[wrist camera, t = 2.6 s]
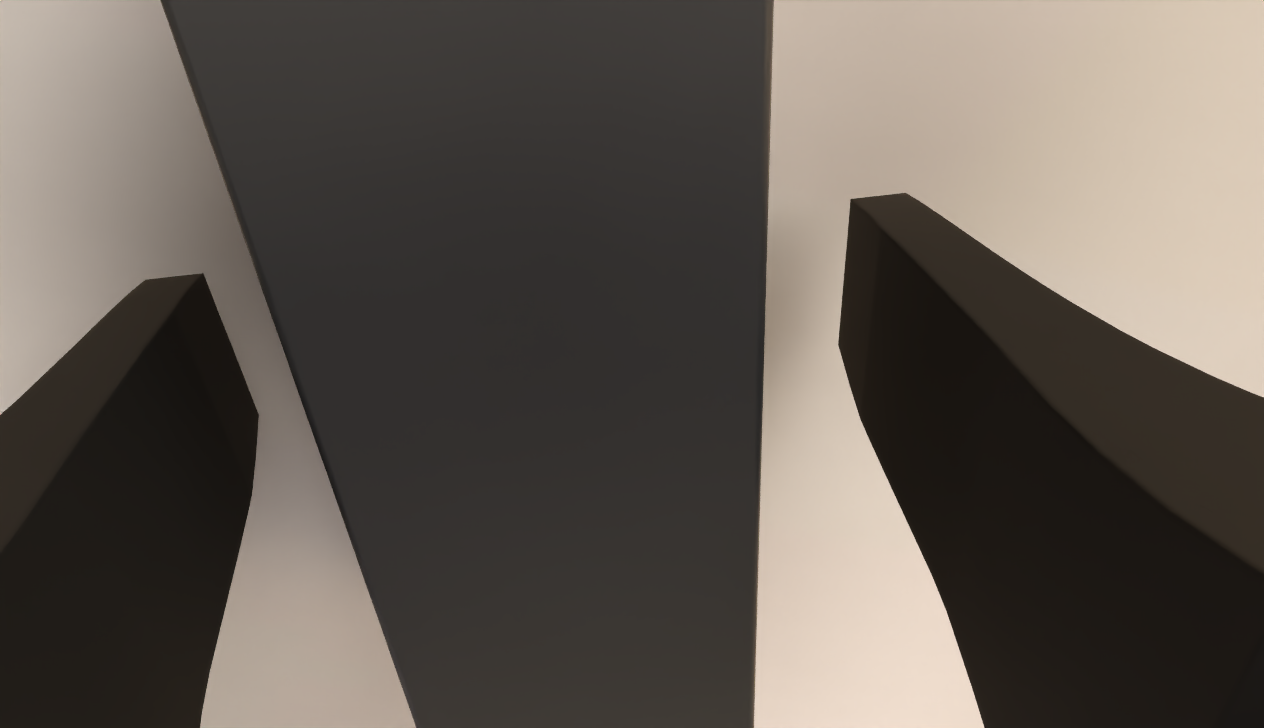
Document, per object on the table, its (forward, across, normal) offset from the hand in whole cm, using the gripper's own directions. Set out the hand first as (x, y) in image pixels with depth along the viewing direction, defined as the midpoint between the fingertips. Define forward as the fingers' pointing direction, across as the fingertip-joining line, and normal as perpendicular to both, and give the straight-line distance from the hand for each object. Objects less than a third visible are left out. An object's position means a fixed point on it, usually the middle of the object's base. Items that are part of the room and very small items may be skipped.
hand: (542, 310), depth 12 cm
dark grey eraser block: (+1, 0, 0) cm, 1 cm away
